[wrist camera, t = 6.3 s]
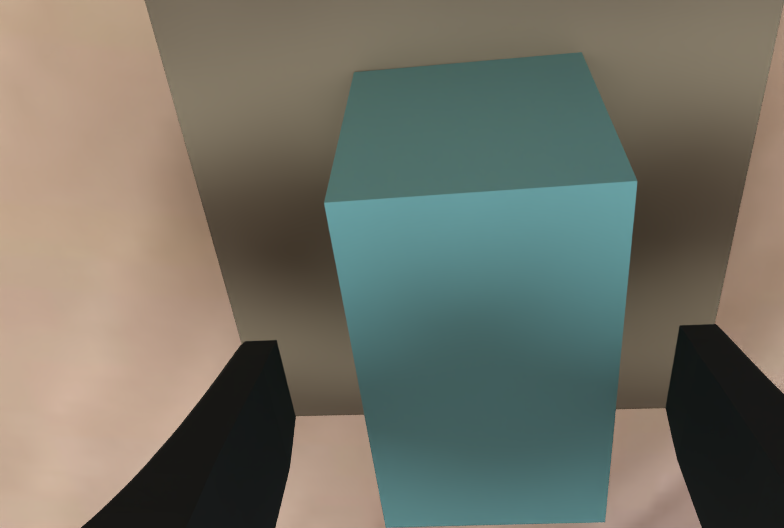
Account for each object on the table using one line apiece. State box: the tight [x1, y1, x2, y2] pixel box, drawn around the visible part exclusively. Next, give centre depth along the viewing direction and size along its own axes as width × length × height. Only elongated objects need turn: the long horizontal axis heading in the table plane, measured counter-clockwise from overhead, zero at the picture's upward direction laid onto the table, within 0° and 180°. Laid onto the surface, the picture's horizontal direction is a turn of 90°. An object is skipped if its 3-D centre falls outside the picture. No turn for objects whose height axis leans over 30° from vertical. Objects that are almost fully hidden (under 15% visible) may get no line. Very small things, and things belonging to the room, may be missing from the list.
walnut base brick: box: [145, 0, 784, 416], centre depth 18 cm, size 12×12×3 cm
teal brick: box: [324, 52, 637, 527], centre depth 15 cm, size 8×4×5 cm, turn 6°
